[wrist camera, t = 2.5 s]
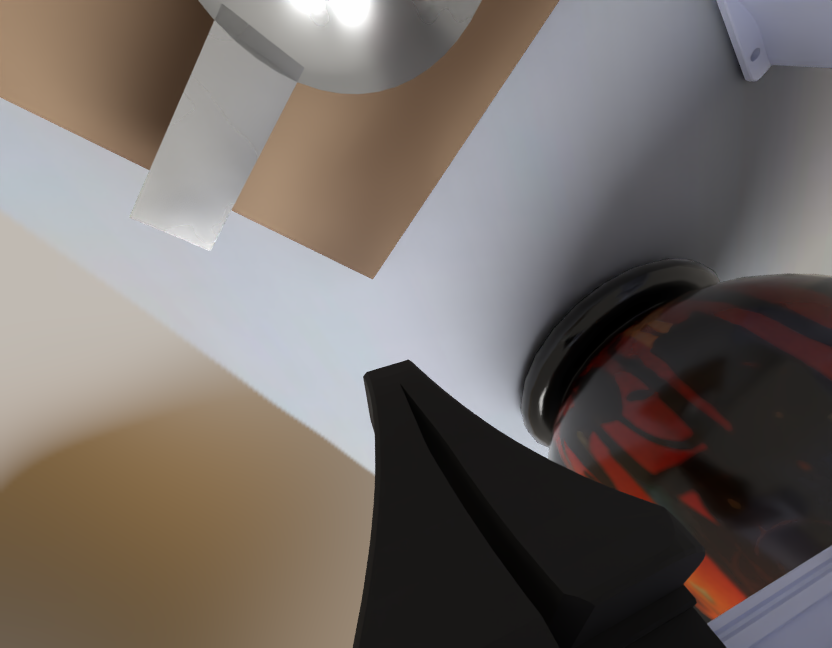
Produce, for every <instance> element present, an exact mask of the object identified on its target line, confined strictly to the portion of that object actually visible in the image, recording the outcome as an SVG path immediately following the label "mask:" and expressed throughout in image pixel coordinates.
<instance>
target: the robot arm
mask: <svg viewBox="0 0 832 648" xmlns="http://www.w3.org/2000/svg"><path fill="white" fill-rule="evenodd" d="M716 1H717V4H718V6H719V9H720V12H721V15H722V17H723V20H724V23H725V26H726V28H727V31H728V34H729V37H730V39H731V42H732V45H733V48H734V50H735V53H736V56H737V59H738V61H739V64H740V67H741V70H742V72H743V75H744V78H745V80H746V81H757V80H759V79H760V78H761V77H762V76H763V75H764V74H765V72H766V71H767V70H768V69H769V68H770V67H771V65H782V66H801V67H820V68H832V0H716ZM363 378H364V384H365V390H366V396H367V402H368V407H369V413H370V419H371V423H372V426H373V429H374V433H375V493H374V508H373V518H372V530H371V540H370V547H369V555H368V562H367V569H366V575H365V582H364V589H363V595H362V602H361V607H360V612H359V618H358V623H357V628H356V634H355V639H354V644H353V648H832V545H831V546H830V547H828V548H827V549H825V550H823V551H822V552H820V553H819V554H817V555H815V556H814V557H812V558H811V559H809V560H807V561H806V562H804V563H803V564H801V565H800V566H798V567H796V568H795V569H793V570H792V571H790V572H788V573H787V574H785V575H784V576H782V577H780V578H779V579H777V580H776V581H774V582H772V583H771V584H769V585H768V586H766V587H764V588H763V589H761V590H760V591H758V592H756V593H755V594H753V595H752V596H750V597H748V598H747V599H745V600H744V601H742V602H740V603H739V604H737V605H736V606H734V607H733V608H731V609H729V610H728V611H726V612H725V613H723V614H721V615H720V616H718V617H717V618H715V619H713V620H712V621H710V622H709V623H706V622H705V621H704V620H703V618H702V617H701V616H700V615H699V614H698V612H697V611H696V610H695V609H694V608H693V606H694V605H695V604H696V603H697V602H696V599H695V597H694V596H693V595H692V594H691V593H690V591H689V590H688V589H687V588H686V587H685V585H684V583H685V582H686V580H687V579H688V578H689V577H690V576H691V575H692V573H693V572H694V571H695V570H696V569H697V568H698V566H699V565H700V564H701V562H702V561H703V560H704V557H705V548H704V547H703V546H702V545H701V544H700V543H699V542H698V541H697V540H696V539H695V537H694V536H693V535H692V534H691V533H690V532H689V531H688V530H687V529H686V528H685V526H684V525H683V524H682V523H681V522H680V521H679V520H678V519H676V518H675V517H674V516H673V515H672V514H671V513H670V512H669V511H668V510H667V509H666V508H665V507H663V506H660V505H657V504H654V503H651V502H649V501H646V500H643V499H640V498H638V497H635V496H632V495H629V494H626V493H624V492H621V491H618V490H616V489H613V488H610V487H608V486H606V485H603V484H601V483H599V482H596V481H594V480H592V479H589V478H587V477H585V476H582V475H580V474H578V473H576V472H574V471H572V470H570V469H568V468H566V467H564V466H562V465H560V464H558V463H555V462H553V461H551V460H549V459H547V458H545V457H543V456H541V455H540V454H538V453H536V452H534V451H532V450H531V449H529V448H527V447H525V446H523V445H522V444H520V443H518V442H517V441H515V440H513V439H512V438H510V437H508V436H507V435H505V434H503V433H502V432H500V431H499V430H497V429H496V428H494V427H493V426H491V425H490V424H488V423H487V422H485V421H484V420H482V419H481V418H480V417H478V416H477V415H475V414H474V413H473V412H471V411H470V410H469V409H467V408H466V407H465V406H463V405H462V404H461V403H459V402H458V401H457V400H456V399H454V398H453V397H452V396H450V395H449V394H448V393H447V392H445V391H444V390H443V389H442V388H441V387H439V386H438V385H437V384H436V383H435V382H434V381H432V380H431V379H430V378H429V377H428V376H427V375H426V374H425V373H423V372H422V371H421V370H420V369H419V368H418V367H417V366H416V365H415V364H414V363H413V362H411V361H410V360H406V361H403V362H399V363H396V364H392V365H389V366H386V367H382V368H379V369H376V370H372V371H369V372H366V374H365V375H364V376H363Z"/></svg>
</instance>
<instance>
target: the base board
mask: <svg viewBox="0 0 832 648" xmlns="http://www.w3.org/2000/svg"><path fill="white" fill-rule="evenodd" d="M558 2H559V0H482V1H481V3H480V5H479V7H478V8H477V10H476V12H475V14H474V16H473V18H472V19H471V21H470V23H469V24H468V26H467V27H466V29H465V30H464V32H463V33H462V34H461V36H460V37H459V39H458V40H457V41H456V42H455V44H454V45H453V46H452V47H451V48H450V49H449V50H448V51H447V53H446V54H445V55H444V56H443V57H442V58H440V59H439V60H438V61H437V62H436V63H435V64H434V65H432V66H431V67H430V68H429V69H428V70H426V71H424V72H423V73H421V74H420V75H418V76H417V77H415V78H414V79H412V80H410V81H408V82H405V83H403V84H401V85H399V86H397V87H394V88H390V89H386V90H383V91H379V92H373V93H365V94H341V93H334V92H329V91H324V90H319V89H316V88H313V87H310V86H307V85H304V84H301V83H298V82H297V84H296V86H295V88H294V89H293V91H292V93H291V95H290V97H289V99H288V101H287V103H286V105H285V107H284V109H283V111H282V113H281V115H280V117H279V119H278V121H277V123H276V124H275V126H274V128H273V130H272V132H271V134H270V136H269V138H268V140H267V142H266V144H265V146H264V148H263V150H262V152H261V154H260V156H259V158H258V159H257V161H256V163H255V165H254V167H253V169H252V171H251V173H250V175H249V177H248V179H247V181H246V183H245V185H244V187H243V189H242V191H241V193H240V195H239V196H238V198H237V200H236V202H235V204H234V206H233V208H232V211H234V212H236V213H238V214H240V215H242V216H244V217H246V218H248V219H250V220H252V221H254V222H256V223H258V224H260V225H263V226H265V227H267V228H269V229H271V230H273V231H275V232H277V233H279V234H281V235H283V236H285V237H287V238H289V239H291V240H293V241H295V242H297V243H299V244H301V245H303V246H305V247H308V248H310V249H312V250H314V251H316V252H318V253H320V254H322V255H324V256H326V257H328V258H330V259H332V260H334V261H336V262H338V263H340V264H342V265H344V266H346V267H348V268H350V269H352V270H355V271H357V272H359V273H361V274H363V275H365V276H367V277H369V278H371V279H373V278H374V277H375V275H376V274H377V272H378V271H379V269H380V268H381V266H382V265H383V263H384V262H385V260H386V259H387V257H388V256H389V254H390V253H391V251H392V250H393V248H394V247H395V245H396V244H397V242H398V241H399V239H400V238H401V236H402V235H403V233H404V232H405V230H406V229H407V228H408V226H409V225H410V223H411V222H412V220H413V219H414V217H415V216H416V214H417V213H418V211H419V210H420V208H421V207H422V205H423V204H424V202H425V201H426V199H427V198H428V196H429V195H430V193H431V192H432V190H433V189H434V187H435V186H436V184H437V183H438V181H439V180H440V178H441V177H442V175H443V174H444V172H445V171H446V169H447V168H448V166H449V165H450V163H451V162H452V160H453V159H454V157H455V156H456V154H457V153H458V151H459V150H460V148H461V147H462V145H463V144H464V142H465V141H466V139H467V138H468V136H469V135H470V133H471V132H472V130H473V129H474V127H475V126H476V124H477V123H478V121H479V120H480V118H481V117H482V115H483V114H484V112H485V111H486V109H487V108H488V106H489V105H490V103H491V102H492V100H493V99H494V97H495V96H496V94H497V93H498V91H499V90H500V88H501V87H502V85H503V84H504V82H505V81H506V79H507V78H508V76H509V75H510V73H511V72H512V70H513V69H514V67H515V66H516V64H517V63H518V61H519V60H520V59H521V57H522V56H523V54H524V53H525V51H526V50H527V48H528V47H529V45H530V44H531V42H532V41H533V39H534V38H535V36H536V35H537V33H538V32H539V30H540V29H541V27H542V26H543V24H544V23H545V21H546V20H547V18H548V17H549V15H550V14H551V12H552V11H553V9H554V8H555V6H556V5H557V3H558ZM213 22H214V20H213V18H212V17H211V16H210V15H209V13H208V12H207V11H206V10H205V8H204V7H203V6H202V5H201V3H200V2H199V1H198V0H0V97H1V98H3V99H5V100H7V101H9V102H11V103H13V104H15V105H17V106H19V107H21V108H23V109H25V110H27V111H30V112H32V113H34V114H36V115H38V116H40V117H42V118H44V119H46V120H48V121H50V122H52V123H54V124H56V125H58V126H60V127H62V128H64V129H66V130H68V131H70V132H72V133H74V134H77V135H79V136H81V137H83V138H85V139H87V140H89V141H91V142H93V143H95V144H97V145H99V146H101V147H103V148H105V149H107V150H109V151H111V152H113V153H115V154H117V155H119V156H122V157H124V158H126V159H128V160H130V161H132V162H134V163H136V164H138V165H140V166H142V167H144V168H146V169H148V170H150V168H151V166H152V163H153V161H154V159H155V157H156V154H157V152H158V150H159V147H160V145H161V143H162V140H163V138H164V136H165V133H166V131H167V129H168V126H169V124H170V122H171V120H172V117H173V115H174V113H175V110H176V108H177V106H178V103H179V101H180V99H181V96H182V94H183V92H184V90H185V87H186V85H187V83H188V80H189V78H190V76H191V73H192V71H193V69H194V66H195V64H196V62H197V59H198V57H199V55H200V53H201V50H202V48H203V46H204V43H205V41H206V39H207V36H208V34H209V32H210V29H211V27H212V25H213Z"/></svg>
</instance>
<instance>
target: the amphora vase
mask: <svg viewBox="0 0 832 648" xmlns="http://www.w3.org/2000/svg"><path fill="white" fill-rule="evenodd" d="M521 412H522V416H523V421H524V425H525V427H526V429H527V430H528V432H529V433H530V434H531V435H532V437H533V438H534V439H535V440H536V441H537V443H539V444H542V445H544V446H546V447H549V454H548V459H549V460H551V461H553V462H555V463H558V464H560V465H562V466H564V467H566V468H568V469H570V470H572V471H574V472H576V473H578V474H580V475H582V476H585V477H587V478H589V479H592V480H594V481H596V482H599V483H601V484H603V485H606V486H608V487H610V488H613V489H616V490H618V491H621V492H624V493H626V494H629V495H632V496H635V497H638V498H640V499H643V500H646V501H649V502H651V503H654V504H657V505H660V506H663V507H665V508H666V509H667V510H668V511H669V512H670V513H671V514H672V515H673V516H674V517H675V518H676V519H678V520H679V521H680V522H681V523H682V524H683V525H684V526H685V528H686V529H687V530H688V531H689V532H690V533H691V534H692V535H693V536H694V537H695V539H696V540H697V541H698V542H699V543H700V544H701V545H702V546H703V547H704V548H705V557H704V560H703V561H702V562H701V564H700V565H699V566H698V568H697V569H696V570H695V571H694V572H693V573H692V575H691V576H690V577H689V578H688V579H687V580H686V582H685V583H684V585H685V587H686V588H687V589H688V590H689V591H690V593H691V594H692V595H693V596H694V597H695V599H696V602H697V603H696V604H695V605H694V606H693V608H694V609H695V610H696V611H697V612H698V614H699V615H700V616H701V617H702V618H703V620H704V621H705V622H706V623H709V622H710V621H712V620H713V619H715V618H717V617H718V616H720V615H721V614H723V613H725V612H726V611H728V610H729V609H731V608H733V607H734V606H736V605H737V604H739V603H740V602H742V601H744V600H745V599H747V598H748V597H750V596H752V595H753V594H755V593H756V592H758V591H760V590H761V589H763V588H764V587H766V586H768V585H769V584H771V583H772V582H774V581H776V580H777V579H779V578H780V577H782V576H784V575H785V574H787V573H788V572H790V571H792V570H793V569H795V568H796V567H798V566H800V565H801V564H803V563H804V562H806V561H807V560H809V559H811V558H812V557H814V556H815V555H817V554H819V553H820V552H822V551H823V550H825V549H827V548H828V547H830V546H831V545H832V276H828V275H819V274H776V275H763V276H750V277H742V278H737V279H733V280H728V281H724V282H720V281H719V279H718V277H717V275H716V274H715V272H714V271H713V270H711V269H710V268H708V267H706V266H704V265H702V264H701V263H699V262H696V261H693V260H690V259H664V260H660V261H656V262H653V263H649V264H645V265H642V266H638V267H635V268H632V269H630V270H628V271H626V272H624V273H622V274H620V275H619V276H617V277H615V278H613V279H611V280H609V281H607V282H605V283H604V284H603V285H601V286H600V287H599V288H597V289H596V290H595V291H593V292H592V293H591V294H590V295H588V296H587V297H586V298H584V299H583V300H582V301H581V302H579V303H578V304H577V305H576V306H575V307H574V308H573V309H572V310H571V311H570V312H569V313H568V314H567V315H566V316H565V317H564V318H563V320H562V321H561V322H560V323H559V324H558V325H557V326H556V327H555V328H554V329H553V330H552V332H551V333H550V335H549V336H548V338H547V339H546V341H545V342H544V344H543V345H542V347H541V348H540V350H539V351H538V353H537V354H536V356H535V358H534V360H533V363H532V365H531V367H530V370H529V372H528V374H527V376H526V379H525V383H524V389H523V395H522V402H521Z"/></svg>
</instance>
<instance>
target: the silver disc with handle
mask: <svg viewBox="0 0 832 648" xmlns="http://www.w3.org/2000/svg"><path fill="white" fill-rule="evenodd" d="M198 1H199V2H200V3H201V5H202V6H203V7H204V8H205V10H206V11H207V12H208V13H209V15H210V16H211V17H212V18H213V20H214V22H213V25H212V27H211V29H210V32H209V34H208V36H207V39H206V41H205V43H204V46H203V48H202V50H201V53H200V55H199V57H198V59H197V62H196V64H195V66H194V69H193V71H192V73H191V76H190V78H189V80H188V83H187V85H186V87H185V90H184V92H183V94H182V96H181V99H180V101H179V103H178V106H177V108H176V110H175V113H174V115H173V117H172V120H171V122H170V124H169V126H168V129H167V131H166V133H165V136H164V138H163V140H162V143H161V145H160V147H159V150H158V152H157V154H156V157H155V159H154V161H153V163H152V166H151V168H150V170H149V173H148V175H147V177H146V180H145V182H144V184H143V187H142V189H141V191H140V194H139V196H138V198H137V200H136V203H135V205H134V207H133V210H132V212H131V214H130V218H132V219H134V220H137V221H139V222H142V223H144V224H146V225H149V226H151V227H154V228H156V229H158V230H161V231H163V232H166V233H168V234H170V235H173V236H175V237H178V238H180V239H182V240H185V241H187V242H190V243H192V244H194V245H197V246H199V247H202V248H204V249H206V250H209V251H211V249H212V247H213V245H214V243H215V241H216V239H217V237H218V235H219V233H220V231H221V230H222V228H223V226H224V224H225V222H226V220H227V218H228V216H229V214H230V212H231V210H232V208H233V206H234V204H235V202H236V200H237V198H238V196H239V195H240V193H241V191H242V189H243V187H244V185H245V183H246V181H247V179H248V177H249V175H250V173H251V171H252V169H253V167H254V165H255V163H256V161H257V159H258V158H259V156H260V154H261V152H262V150H263V148H264V146H265V144H266V142H267V140H268V138H269V136H270V134H271V132H272V130H273V128H274V126H275V124H276V123H277V121H278V119H279V117H280V115H281V113H282V111H283V109H284V107H285V105H286V103H287V101H288V99H289V97H290V95H291V93H292V91H293V89H294V88H295V86H296V84H297V82H298V83H301V84H304V85H307V86H310V87H313V88H316V89H319V90H324V91H329V92H334V93H341V94H365V93H373V92H379V91H383V90H386V89H390V88H394V87H397V86H399V85H401V84H403V83H405V82H408V81H410V80H412V79H414V78H415V77H417V76H418V75H420V74H421V73H423V72H424V71H426V70H428V69H429V68H430V67H431V66H432V65H434V64H435V63H436V62H437V61H438V60H439V59H440V58H442V57H443V56H444V55H445V54H446V53H447V51H448V50H449V49H450V48H451V47H452V46H453V45H454V44H455V42H456V41H457V40H458V39H459V37H460V36H461V34H462V33H463V32H464V30H465V29H466V27H467V26H468V24H469V23H470V21H471V19H472V18H473V16H474V14H475V12H476V10H477V8H478V7H479V5H480V3H481V1H482V0H198Z"/></svg>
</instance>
